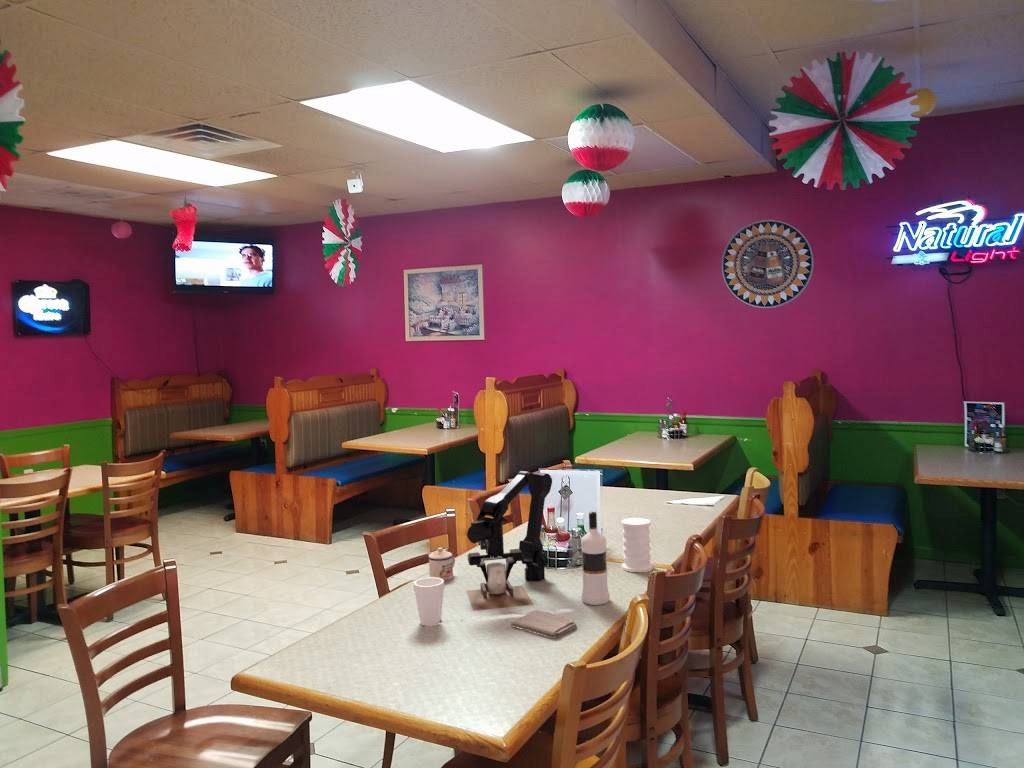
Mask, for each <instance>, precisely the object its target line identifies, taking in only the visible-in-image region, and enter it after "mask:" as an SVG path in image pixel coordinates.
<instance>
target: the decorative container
mask: <svg viewBox="0 0 1024 768" xmlns="http://www.w3.org/2000/svg"><path fill="white" fill-rule="evenodd" d="M651 522H652V521H651V520H650V519H648V518H643V517H629V518H624V519H622V520H621V521H620V524H621V526H622V527H623V530H622V535H623V538H622V542H623V547H622V550H623V560H624V562H623V563H622V564H621V569H622V571H624V570H626V571H630V572H629V573H631V572H645V573H649V572H651V571H653V570H652V569H654V564H653V563H652V562H651V561H650V560H651V558H652V557H651V554H650V552H651V545H650V543H651V539H650V534H651V531H650V530H651V529H649V528H650V526H651V525H652V523H651ZM649 570H650V571H649ZM626 571H625V572H626ZM648 571H649V572H648Z"/></svg>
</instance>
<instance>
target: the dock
mask: <svg viewBox="0 0 1024 768" xmlns="http://www.w3.org/2000/svg"><path fill="white" fill-rule="evenodd" d="M466 594H467V597H468V601H469V602H470V605H471V609H472V611H483V610H492V609H493V610H494V609H501V608H503V609H505V608H513V607H523V606H532V605H533V606H534V602H533V601H532V599H531V598H530V596H529V594H528V592H527V591H526V589H525V586H524V585H512V584H511V582H510V581H509V580H507V581H506V592H505V593H502V594H490V593H488V586H487V583H486V582H480V588H479V589H469V590H466Z"/></svg>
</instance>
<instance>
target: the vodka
mask: <svg viewBox="0 0 1024 768" xmlns="http://www.w3.org/2000/svg"><path fill="white" fill-rule="evenodd" d="M597 517H598V515H597V512H596V511H589V512H588V526H589V527H588V528H589V530H588V532H587V533H586V534H584V535H582V537H581V540H580V543H581V544H580V545H581V555H582V556H581V557H582V571H581V574H582V590H581V591H582V593H581V601H582V602H583V603H585V604H586V605H589V604H590V605H589V606H602V604H603V605H605V604H607V603H609V601H610V598H611V597H610V596H611V595H610V592H609V586H608V573H609V572H608V569H607V567H608V565H607V562H608V561H607V538H606V537H605V535H604V534H602V533H600V532H599V531H598V519H597Z"/></svg>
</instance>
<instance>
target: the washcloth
mask: <svg viewBox="0 0 1024 768" xmlns="http://www.w3.org/2000/svg"><path fill="white" fill-rule="evenodd" d="M574 621H575V620H574V619H570V618H567V617H565V616H564V615H563V614H555V613H552V612H549V611H543V610H540V609H534V610H531V611H529V612H528V613H526V614H524V615H523V616H520V617H518V618H516V619H514V620H512V621H511V622H510V627H512V626H514V627H519V628H522V629H525V630H527V631H526V632H528V631H531V632H530V633H532V632H536V633H539V634H542V635H541V636H543V635H546V636H548V637H547V638H549V637H551V638H550V639H552V638H553V639H552V640H556V639H557V638H556V637H558V638H560V636H561V637H562V635H563V636H564V634H565V633H566V634H568V633H570V632H571V630H572V631H574V630H575V629H577V628H578V626H577V623H575V622H574ZM514 627H513V628H514ZM573 629H574V630H573ZM525 630H524V631H525ZM569 631H570V632H569ZM567 632H568V633H567ZM536 633H535V634H536ZM539 634H538V635H539ZM566 634H565V635H566ZM546 636H545V637H546Z"/></svg>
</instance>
